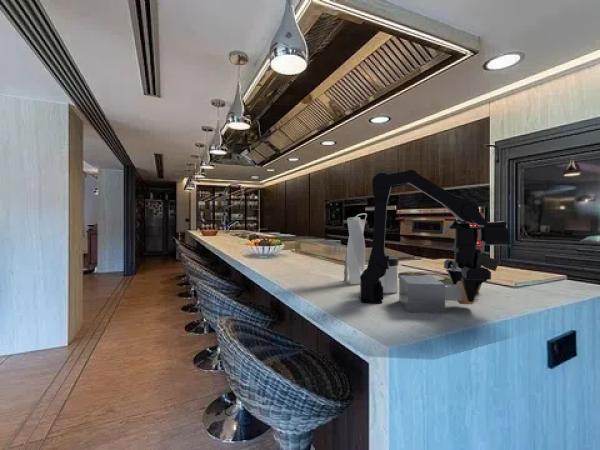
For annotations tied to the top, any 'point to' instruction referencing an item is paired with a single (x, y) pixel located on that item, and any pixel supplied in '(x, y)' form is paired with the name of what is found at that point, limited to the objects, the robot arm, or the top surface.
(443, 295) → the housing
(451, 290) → the white and tan bar
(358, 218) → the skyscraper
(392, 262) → the jar
